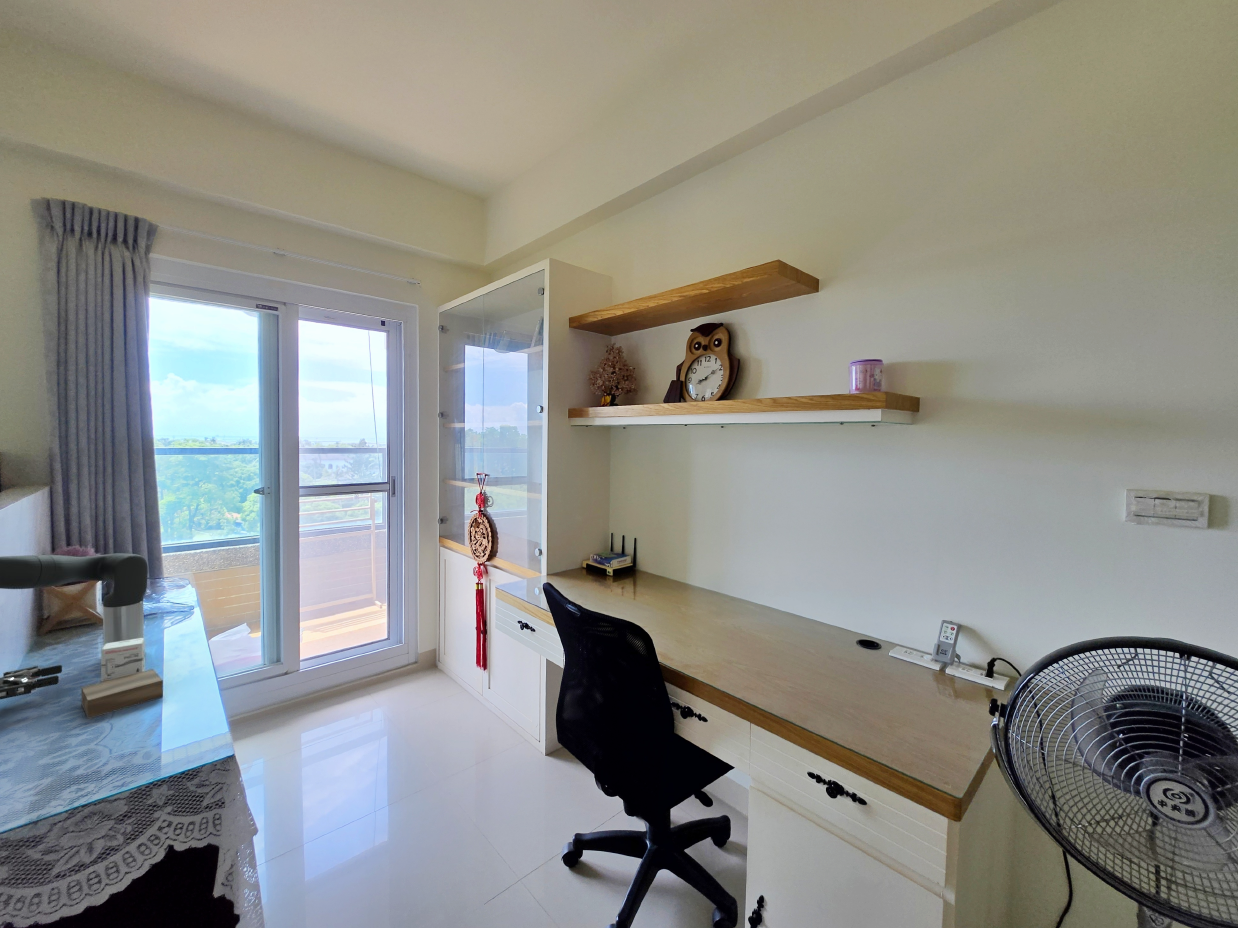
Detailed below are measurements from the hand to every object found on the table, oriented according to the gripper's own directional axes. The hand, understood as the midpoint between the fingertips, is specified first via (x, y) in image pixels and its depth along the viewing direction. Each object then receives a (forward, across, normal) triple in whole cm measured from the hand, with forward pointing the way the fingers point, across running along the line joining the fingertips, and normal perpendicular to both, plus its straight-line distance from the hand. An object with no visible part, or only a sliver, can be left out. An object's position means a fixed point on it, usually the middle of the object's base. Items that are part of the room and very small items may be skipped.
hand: (60, 673), depth 133 cm
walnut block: (+12, -13, +7) cm, 19 cm away
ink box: (+12, 0, +7) cm, 14 cm away
